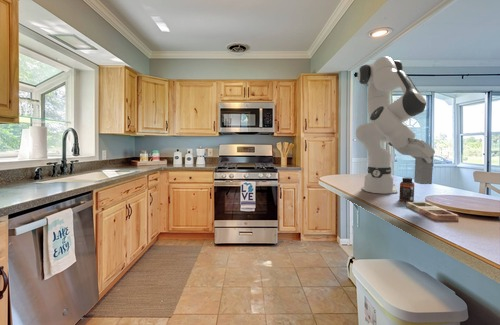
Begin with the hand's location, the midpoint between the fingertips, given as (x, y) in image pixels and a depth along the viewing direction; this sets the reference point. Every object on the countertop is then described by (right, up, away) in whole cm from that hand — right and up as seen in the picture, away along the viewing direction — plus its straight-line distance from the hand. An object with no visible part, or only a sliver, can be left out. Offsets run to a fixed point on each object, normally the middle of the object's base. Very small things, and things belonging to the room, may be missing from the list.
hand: (425, 161), depth 106 cm
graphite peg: (0, -9, +1) cm, 9 cm away
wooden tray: (-1, -21, -4) cm, 21 cm away
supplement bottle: (+2, -19, +15) cm, 25 cm away
